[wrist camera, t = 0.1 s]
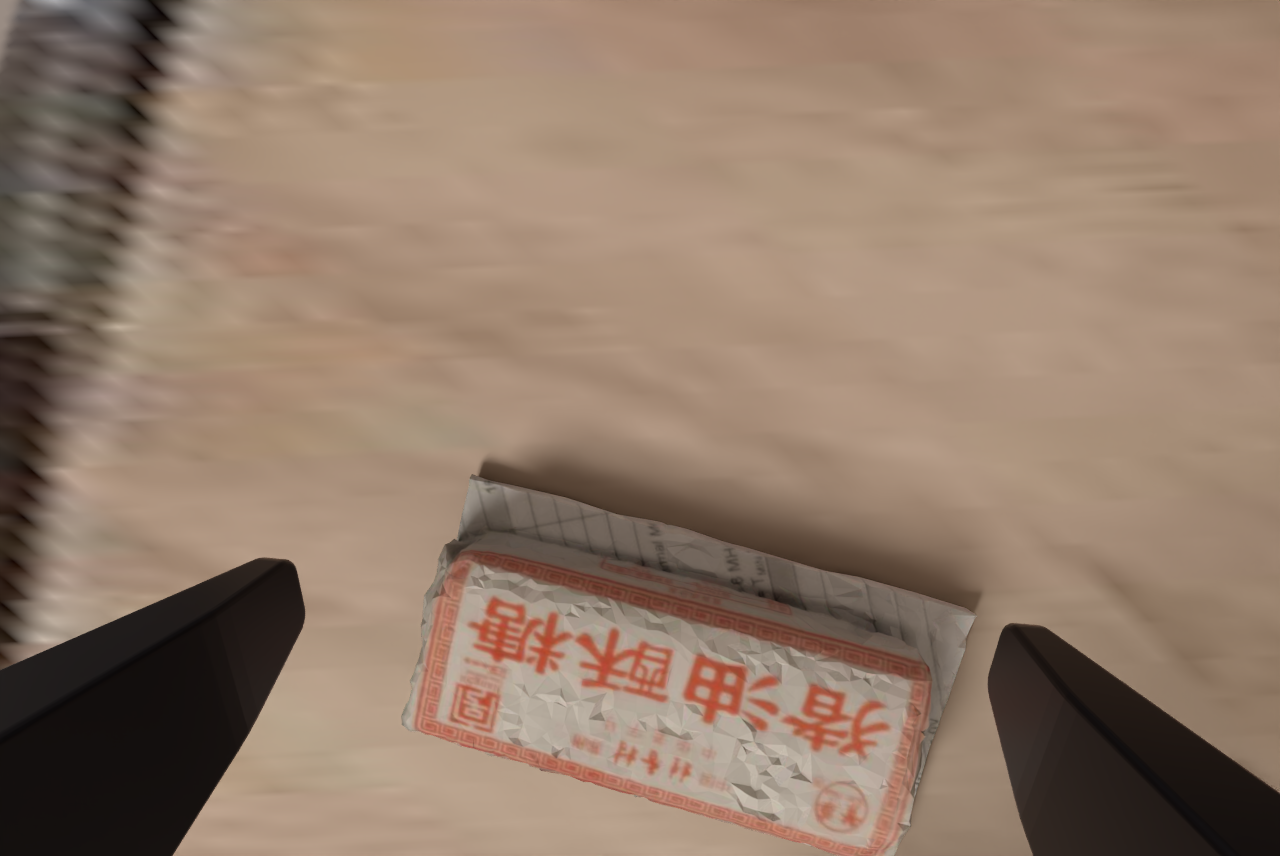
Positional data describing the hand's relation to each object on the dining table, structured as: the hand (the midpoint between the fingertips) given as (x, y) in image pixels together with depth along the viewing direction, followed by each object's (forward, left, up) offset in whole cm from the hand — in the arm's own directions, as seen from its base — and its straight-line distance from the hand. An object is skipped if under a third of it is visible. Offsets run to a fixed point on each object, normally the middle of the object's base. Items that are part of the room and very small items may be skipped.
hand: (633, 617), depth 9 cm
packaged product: (-6, -6, -16) cm, 19 cm away
